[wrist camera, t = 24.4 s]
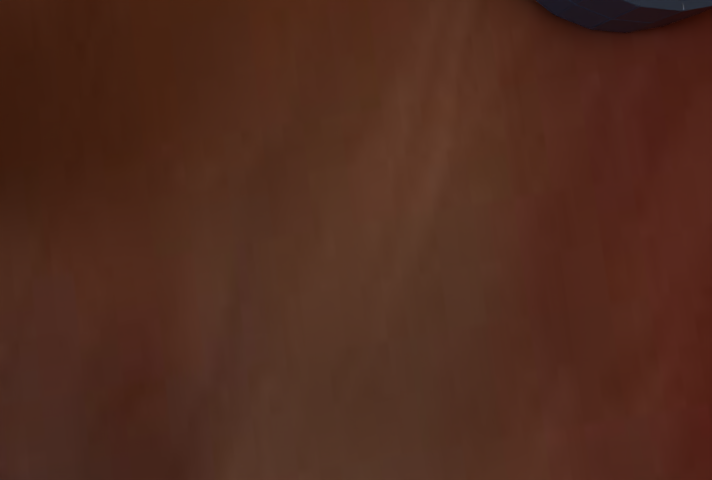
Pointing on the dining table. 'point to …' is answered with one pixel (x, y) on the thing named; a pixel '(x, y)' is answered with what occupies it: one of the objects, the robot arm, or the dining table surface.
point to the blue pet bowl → (625, 12)
